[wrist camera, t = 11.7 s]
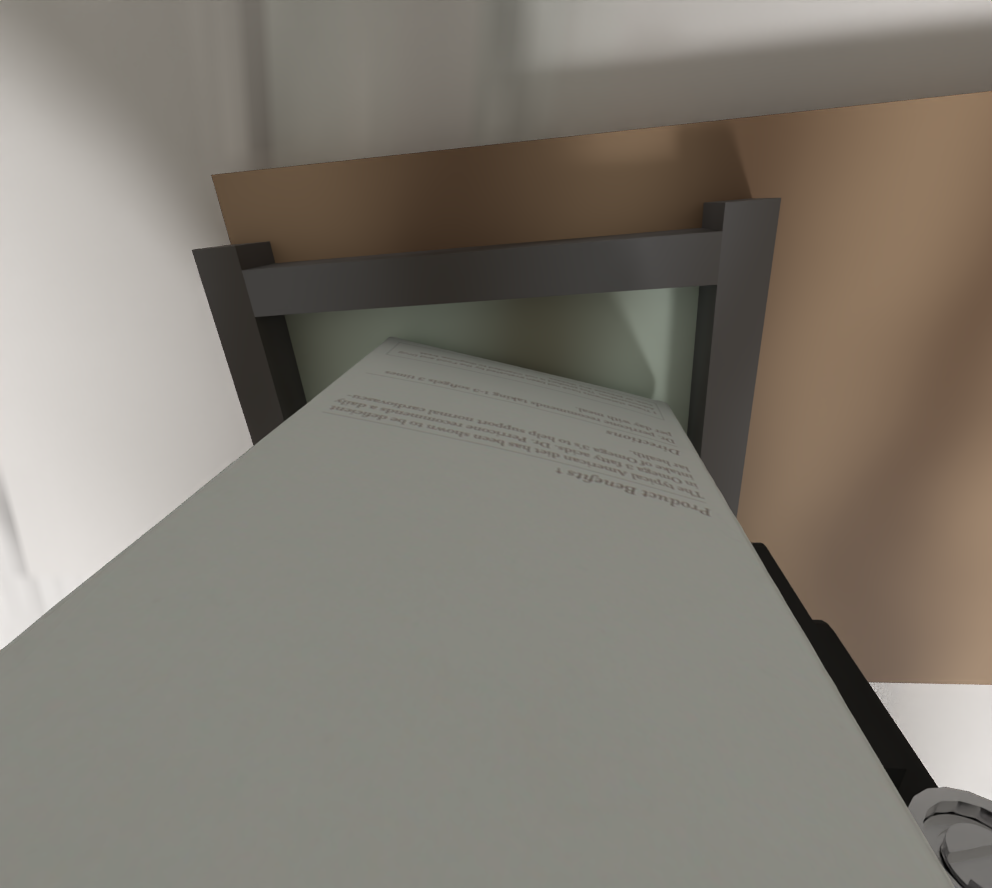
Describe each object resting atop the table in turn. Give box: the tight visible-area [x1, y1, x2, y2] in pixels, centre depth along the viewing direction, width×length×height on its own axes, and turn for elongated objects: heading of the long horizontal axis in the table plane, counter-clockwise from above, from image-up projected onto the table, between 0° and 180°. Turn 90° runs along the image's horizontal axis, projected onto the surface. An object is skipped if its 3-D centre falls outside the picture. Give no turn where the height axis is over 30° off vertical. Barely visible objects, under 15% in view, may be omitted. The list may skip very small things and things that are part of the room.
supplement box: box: [0, 337, 955, 888], centre depth 8 cm, size 7×7×13 cm
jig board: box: [192, 91, 992, 685], centre depth 14 cm, size 22×16×3 cm
